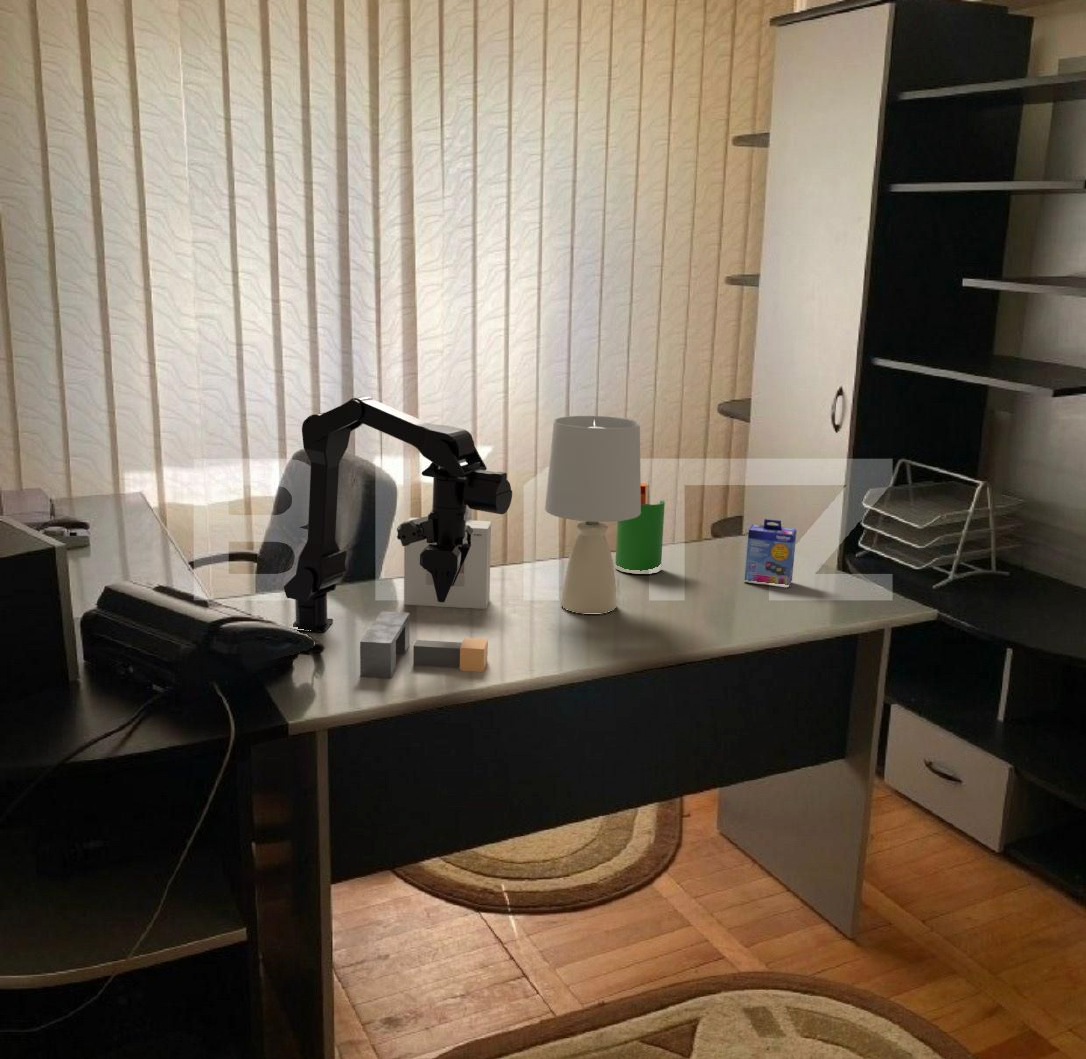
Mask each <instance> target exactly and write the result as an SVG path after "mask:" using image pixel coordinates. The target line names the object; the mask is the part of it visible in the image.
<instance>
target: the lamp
mask: <svg viewBox="0 0 1086 1059" xmlns="http://www.w3.org/2000/svg"><path fill="white" fill-rule="evenodd" d="M552 425H553V426H552V435H551V436H552V437H551V444H550V455H549V464H548V466H549V467H548V473H547V474H548V476H547V485H546V495H545V506H544V510H545V512H547V513H548V514H549V515H551V516H554V517H557V518H562V519H566V520H570V521H571V520H572V521H579V523H578V524H577V525H576V529H577V530H578V532H579V533H578V536H577V538H576V540H575V541H574V544H573V545H572V548H571V552H570V555H569V557H568V561H567V565H566V569H565V575H564V579H563V585H562V588H561V590H562V591H561V597H560V606H561V607H562V606H563V607H564V608H565V609H568V610H570V611H574V612H578V613H605V612H608V611H611V610H613V609H615V608H616V609H617V607H618V606H617V604H618V598H617V585H616V577H615V567H614V561H613V556H612V552H611V548H610V545H609V543H608V541H607V539H606V535H605V533H606V532H607V530H608V525H607V524H605V523H612V522H617V521H623V520H629V519H633V518H636V517H638V516H639V515H640V514H641V484H642V483H641V424H640V423H639V421H637V420H633V419H629V418H624V417H623V418H622V417H615V416H604V415H603V416H601V415H569V416H562V417H557V418H554V420H553V424H552ZM564 608H563V609H564ZM565 609H564V610H565ZM616 609H615V610H616Z"/></svg>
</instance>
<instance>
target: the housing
mask: <svg viewBox="0 0 1086 1059" xmlns="http://www.w3.org/2000/svg"><path fill="white" fill-rule="evenodd" d="M410 614H411V612H403V611H402V612H398V611H386V610H385V611H384V610H383V611H380V613H379V614H378V616H377V617H376V619H375V620H374V622H372V624H371V626H370V627H369V629H367V630H366V632H365V634H364V635H363V637H362V638H361V639H360V641H359V658H360V659H359V660H360V661H359V662H360V663H359V668H360V670H359V672H360V673H359V675H360V676H359V677H363V678H379V679H392V677H393V675H394V673H395V671H396V668H397V667H396V666H397V664H396V661H397V657H396V656H397V655H396V653H399V654H405V653H406V652H407V650H409V648H410V638H411V636H410V635H411V634H410V632H411V631H410V630H411V628H410V627H411V626H410V625H411V623H410V621H411V620H410V619H411V617H410V616H411V615H410Z"/></svg>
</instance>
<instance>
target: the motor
mask: <svg viewBox="0 0 1086 1059" xmlns="http://www.w3.org/2000/svg"><path fill="white" fill-rule="evenodd" d="M646 501H647V483H641V514H640V515H639V516H638V517H636V518H633V519H629V520H623V521H616V522H617V524H616V542H615V544H616V545H615V546H616V548H615V564H616V565H617V566H620V567H622V568H624V569H629V570H640V571H642V570H648V569H653V568H655V567H658V566H659V565H660V564H661V565H662V556H663V554H662V553H663V540H664V539H663V538H664V521H665V506H666V505H665V504H666V501H665V500H660V502H659V503H656V504H650V503H647V502H646Z"/></svg>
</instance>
